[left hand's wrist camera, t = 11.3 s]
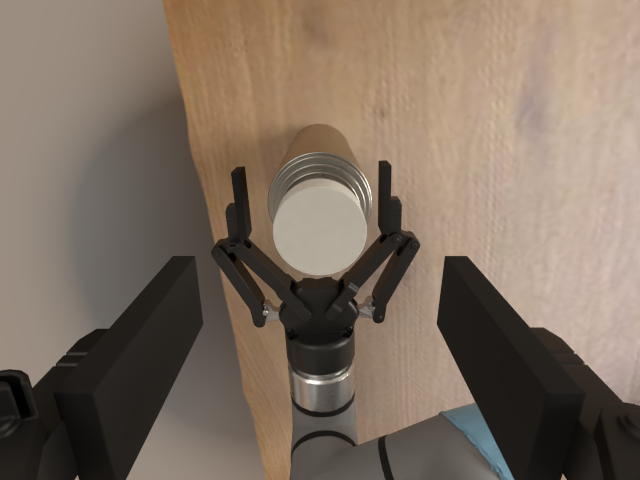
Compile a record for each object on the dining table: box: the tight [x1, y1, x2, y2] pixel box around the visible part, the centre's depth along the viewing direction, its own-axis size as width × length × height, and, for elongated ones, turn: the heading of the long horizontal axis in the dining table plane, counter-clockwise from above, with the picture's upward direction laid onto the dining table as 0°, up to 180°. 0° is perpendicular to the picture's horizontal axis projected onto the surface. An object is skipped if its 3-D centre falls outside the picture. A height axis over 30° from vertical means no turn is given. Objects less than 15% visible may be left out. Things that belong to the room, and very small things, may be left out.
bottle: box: [268, 124, 372, 224], centre depth 31 cm, size 6×6×24 cm
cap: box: [273, 179, 367, 275], centre depth 21 cm, size 5×5×2 cm
